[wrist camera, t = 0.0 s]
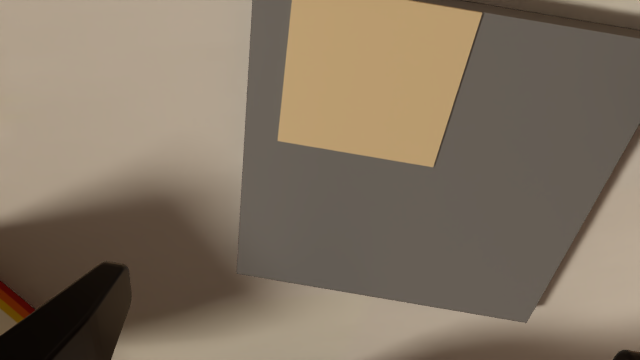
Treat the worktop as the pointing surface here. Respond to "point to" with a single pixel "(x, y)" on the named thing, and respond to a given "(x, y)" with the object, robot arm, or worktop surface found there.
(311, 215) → the baseplate
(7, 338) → the robot arm
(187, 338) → the worktop surface
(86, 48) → the worktop surface
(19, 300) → the baking soda box
